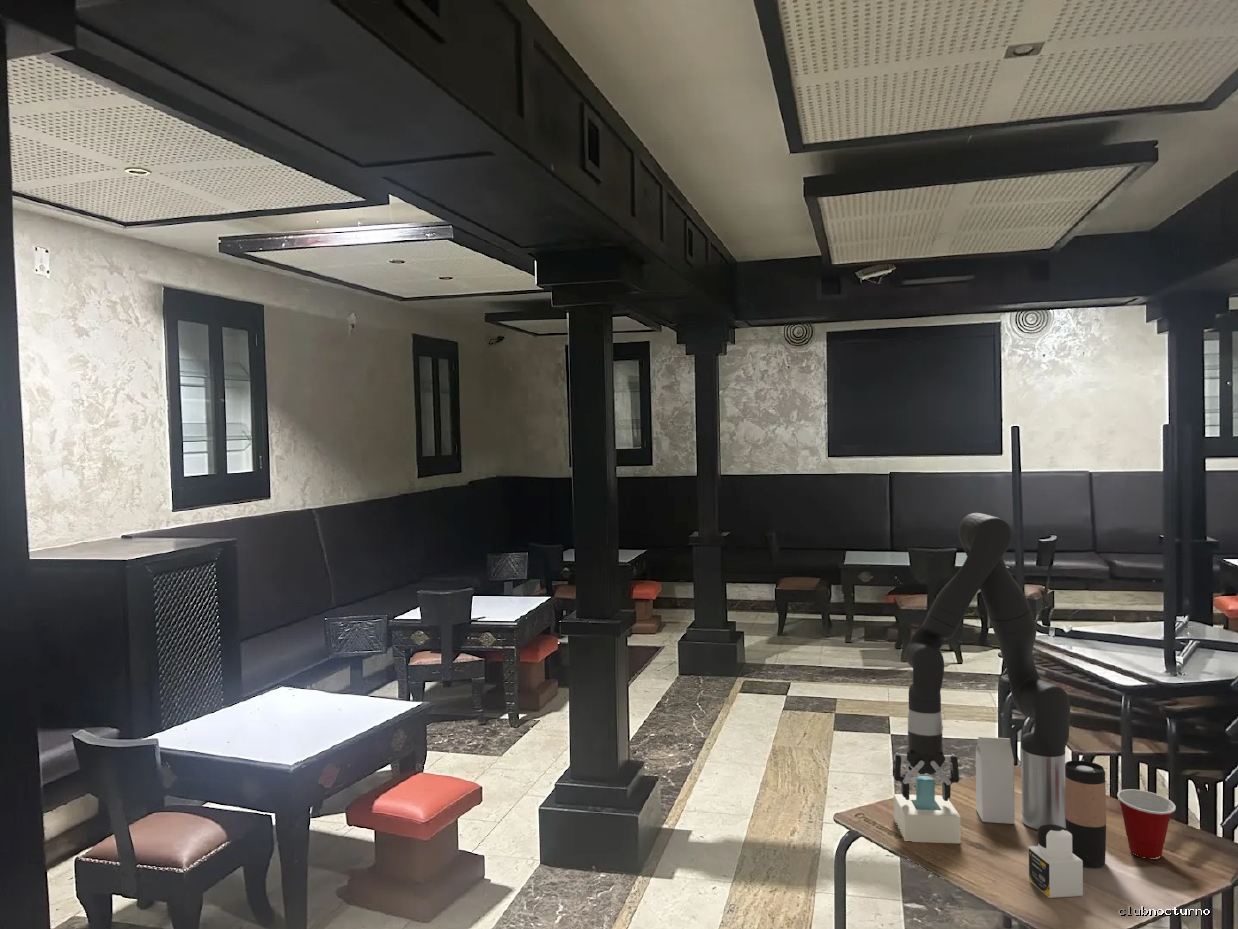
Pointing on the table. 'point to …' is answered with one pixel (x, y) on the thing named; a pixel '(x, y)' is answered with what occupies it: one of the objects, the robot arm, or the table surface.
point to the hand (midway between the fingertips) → (925, 799)
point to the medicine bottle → (1055, 863)
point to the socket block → (927, 821)
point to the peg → (925, 793)
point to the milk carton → (995, 780)
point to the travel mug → (1086, 811)
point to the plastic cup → (1145, 821)
